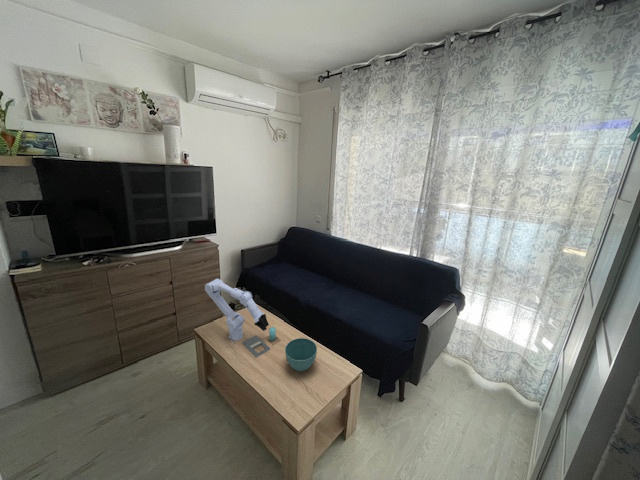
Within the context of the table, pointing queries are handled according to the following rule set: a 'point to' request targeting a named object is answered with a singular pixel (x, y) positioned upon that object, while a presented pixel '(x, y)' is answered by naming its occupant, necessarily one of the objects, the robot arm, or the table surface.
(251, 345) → the plate
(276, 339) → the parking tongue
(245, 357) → the table surface
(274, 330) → the peg
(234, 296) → the robot arm
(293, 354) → the teal bowl
